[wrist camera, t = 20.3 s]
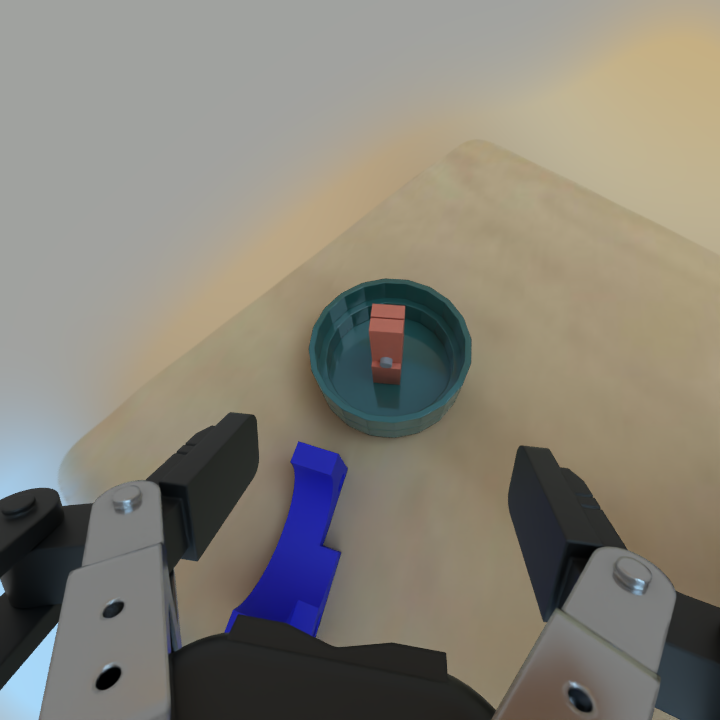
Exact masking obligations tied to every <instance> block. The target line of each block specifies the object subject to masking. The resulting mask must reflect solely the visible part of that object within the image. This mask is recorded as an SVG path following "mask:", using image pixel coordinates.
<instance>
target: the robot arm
mask: <svg viewBox="0 0 720 720" xmlns="http://www.w3.org/2000/svg"><path fill="white" fill-rule="evenodd" d="M258 463H259V449H258V433H257V420H256V417H255V416H254V415H251V414H242V413H233V412H230V413H229V414H227V415H226V416H225V417H224V418H223V419H222V420H221V421H220V422H219V423H218V424H217V425H216V426H210V427H208V428H206V429H204V430H202V431H200V432H198V433H196V434H195V435H194V436H193V437H192V438H191V439H190V440H189V441H188V442H186V445H183V446H182V447H181V448H180V449H179V450H178V451H177V453H176V454H175V453H174V454H173V455H172V456H171V457H170V458H169V459H168V460H167V461H166V462H165V463H164V464H163V465H161V466H160V467H159V468H158V469H157V470H156V471H155V472H154V473H153V474H152V475H151V476H149V477H148V478H147V479H146V480H138V481H131V482H127V483H123V484H120V485H118V486H115V487H113V488H111V489H109V490H108V491H106V492H104V493H103V494H102V495H101V496H99V497H98V498H97V499H96V501H95V502H94V503H90V504H79V505H69V506H62V504H61V501H60V497H59V494H58V492H57V491H55V490H53V489H50V488H35V489H29V490H25V491H22V492H18V493H15V494H13V495H10V496H8V497H5V498H4V499H1V500H0V580H1V582H2V585H3V587H4V590H5V593H4V594H3V595H2V596H0V690H1V689H2V688H3V686H4V685H5V684H6V683H7V682H8V680H9V679H10V678H11V677H12V675H14V674H15V672H16V671H17V670H18V669H19V668H20V666H21V665H22V664H23V663H24V662H25V661H26V659H27V658H28V657H29V656H30V655H31V654H32V652H33V651H34V650H35V649H36V648H37V646H38V645H39V644H40V643H41V642H42V641H43V639H44V638H45V637H46V636H47V635H48V634H49V632H50V631H51V630H52V629H53V628H54V627H55V625H56V624H57V623H58V622H59V623H58V628H57V632H56V637H55V643H54V647H53V652H52V657H51V662H50V667H49V672H48V677H47V681H46V687H45V691H44V696H43V701H42V706H41V711H40V716H39V720H652V716H653V712H654V708H657V709H659V710H661V711H663V712H666V713H668V714H670V715H672V716H674V717H676V718H678V719H680V720H720V608H718V607H716V606H713V605H710V604H708V603H705V602H702V601H700V600H697V599H694V598H692V597H689V596H686V595H684V594H682V593H679V592H677V591H675V589H674V586H673V584H672V583H671V581H670V580H669V579H668V577H667V576H666V575H665V574H664V573H663V572H662V571H661V570H660V569H659V568H658V567H656V566H655V565H654V564H653V563H651V562H650V561H648V560H647V559H645V558H643V557H641V556H640V555H638V554H635V553H633V552H631V551H628V550H627V548H626V547H625V545H624V543H623V542H622V540H621V539H620V537H619V536H618V534H617V532H616V531H615V529H614V528H613V526H612V525H611V523H610V521H609V520H608V518H607V517H606V515H605V514H604V512H603V510H600V506H599V504H598V503H597V501H596V499H595V498H593V495H592V493H591V492H590V490H589V489H588V487H587V485H586V484H585V482H584V481H583V480H582V479H580V478H579V477H578V476H577V475H576V474H574V473H573V472H572V471H571V470H570V469H568V468H560V467H559V465H558V463H557V462H556V460H555V458H554V456H553V455H552V453H551V451H550V450H549V449H547V448H539V447H530V446H519V448H518V450H517V454H516V458H515V463H514V468H513V473H512V477H511V482H510V487H509V493H508V505H509V512H510V515H511V518H512V522H513V525H514V528H515V531H516V535H517V538H518V541H519V544H520V548H521V551H522V554H523V557H524V561H525V564H526V567H527V570H528V574H529V577H530V580H531V583H532V587H533V590H534V593H535V596H536V600H537V603H538V606H539V609H540V613H541V616H542V619H543V622H547V624H546V625H545V627H544V629H543V631H542V632H541V634H540V636H539V638H538V639H537V641H536V643H535V644H534V646H533V648H532V650H531V651H530V653H529V655H528V657H527V658H526V660H525V662H524V663H523V665H522V667H521V669H520V670H519V672H518V674H517V676H516V677H515V679H514V681H513V683H512V684H511V686H510V688H509V689H508V691H507V693H506V695H505V696H504V698H503V700H502V702H501V703H500V705H499V707H498V709H497V710H495V709H494V708H493V707H492V706H491V705H490V704H489V703H488V702H487V701H486V700H485V699H484V698H483V697H482V696H481V695H479V694H478V693H477V692H476V691H474V690H473V689H472V688H471V687H469V686H468V685H466V684H465V683H463V682H462V681H460V680H459V679H457V678H455V677H453V676H451V675H449V674H447V660H446V653H445V652H440V651H434V650H429V649H423V648H418V647H413V646H407V645H402V644H397V643H383V644H371V645H360V646H349V647H334V646H331V645H329V644H327V643H325V642H323V641H321V640H319V639H317V638H315V637H313V636H311V635H309V634H307V633H305V632H303V631H301V630H299V629H297V628H295V627H293V626H291V625H289V624H287V623H284V622H278V621H273V620H268V619H262V618H257V617H252V616H246V615H241V614H238V615H237V617H236V620H235V622H234V624H233V626H232V628H231V630H230V632H228V633H221V634H217V635H212V636H209V637H206V638H203V639H200V640H197V641H195V642H193V643H190V644H188V645H186V646H184V647H182V643H181V634H180V623H179V612H178V601H177V590H176V580H175V572H174V567H175V566H176V564H177V563H178V562H179V560H180V559H186V560H192V561H198V560H199V559H200V557H201V556H202V554H203V553H204V551H205V550H206V548H207V547H208V545H209V544H210V542H211V541H212V539H213V538H214V536H215V535H216V533H217V532H218V530H219V529H220V527H221V526H222V524H223V523H224V521H225V520H226V518H227V517H228V515H229V514H230V512H231V511H232V509H233V508H234V506H235V505H236V503H237V502H238V500H239V499H240V497H241V496H242V494H243V493H244V491H245V490H246V488H247V487H248V485H249V484H250V482H251V481H252V479H253V478H254V476H255V474H256V472H257V468H258Z"/></svg>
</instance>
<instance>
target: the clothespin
mask: <svg viewBox="0 0 720 720" xmlns="http://www.w3.org/2000/svg"><path fill="white" fill-rule="evenodd" d="M404 322H405V306H400V305H385V304H372V310H371V318H370V325H369V337H370V346H371V355H372V366H371V367H372V375H373V382H374V383H384V384H395V385H400V379H401V364H402V358H403V344H404Z"/></svg>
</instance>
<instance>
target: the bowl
mask: <svg viewBox="0 0 720 720" xmlns="http://www.w3.org/2000/svg"><path fill="white" fill-rule="evenodd" d="M372 304H385V305H400V306H405V322H404V344H403V358H402V364H401V379H400V385H395V384H384V383H374V382H373V375H372V367H371V366H372V355H371V346H370V337H369V325H370V318H371V310H372ZM309 355H310V362H311V370H312V373H313V375H314V377H315V379H316V381H317V383H318V385H319V388H320V390H321V392H322V394H323V395H324V397H325V399H326V401H327V403H328V405H329V407H330V409H331V410H332V411H333V412H334V413H335V414H336V415H337V416H338V417H339V418H340V419H341V420H343V421H344V422H345V423H346V424H347V425H348V426H350V427H352V428H355V429H357V430H359V431H361V432H363V433H366V434H368V435H373V436H382V437H391V438H396V437H401V436H406V435H411V434H416V433H419V432H421V431H423V430H424V429H426V428H428V427H430V426H431V425H433V424H435V423H437V422H438V421H439V420H440V419H441V418H442V417H443V416H444V415H445V414H446V412H447V411H448V410H449V409H450V408H451V407H452V406H453V404H454V403H455V400H456V398H457V396H458V394H459V392H460V389H461V387H462V385H463V383H464V380H465V377H466V375H467V372H468V370H469V367H470V365H471V337H470V334H469V331H468V329H467V326H466V323H465V320H464V318H463V317H462V315H461V314H460V313H459V312H458V310H457V309H456V308H455V307H454V305H453V304H452V303H451V302H450V300H448V299H447V298H445V297H444V296H442V295H441V294H440V293H438V292H437V291H435V290H434V289H432V288H430V287H428V286H425V285H422V284H419V283H416V282H413V281H410V280H401V279H380V280H375V281H370V282H365V283H361V284H359V285H357V286H355V287H353V288H351V289H349V290H347V291H345V292H343V293H341V294H340V295H339V296H338V297H336V298H335V299H334V300H333V301H332V302H331V303H330V304H329V305H328V306H326V307H325V309H324V310H323V312H322V313H321V315H320V317H319V318H318V320H317V322H316V323H315V325H314V327H313V331H312V336H311V340H310V345H309Z"/></svg>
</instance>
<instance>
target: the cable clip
mask: <svg viewBox="0 0 720 720" xmlns="http://www.w3.org/2000/svg"><path fill="white" fill-rule="evenodd" d="M291 463H292V465H293V467H294V472H295V484H294V492H293V497H292V502H291V506H290V510H289V514H288V517H287V520H286V523H285V526H284V529H283V532H282V534H281V537H280V540H279V542H278V544H277V547H276V549H275V551H274V554H273V556H272V558H271V560H270V562H269V564H268V566H267V568H266V570H265V571H264V573H263V575H262V577H261V578H260V580H259V582H258V583H257V585H256V586H255V588H254V589H253V591H252V592H251V593H250V595H249V596H248V597H247V598H246V600H245V601H244V602H243V603H242V604H241V605H240V606H238V607H237V608H235V609H234V610H233V612H232V614H231V617H230V619H229V622H228V624H227V627H226V630H225V632H224V633H228V632H230V630H231V628H232V626H233V624H234V622H235V620H236V617H237V615H238V614H241V615H246V616H252V617H257V618H262V619H268V620H273V621H278V622H284V623H287V624H289V625H291V626H293V627H295V628H297V629H299V630H301V631H303V632H305V633H307V634H309V635H311V636H313V637H316V634H317V630H318V627H319V624H320V621H321V617H322V614H323V611H324V607H325V604H326V601H327V598H328V594H329V591H330V588H331V584H332V581H333V578H334V575H335V571H336V568H337V565H338V561H339V558H340V555H341V552H339V551H337V550H334V549H331V548H329V547H326V546H323V544H324V541H325V538H326V535H327V532H328V528H329V525H330V522H331V519H332V516H333V513H334V510H335V507H336V504H337V501H338V498H339V495H340V491H341V488H342V485H343V482H344V479H345V476H346V473H347V470H348V468H347V467H346V465H345V464H344V462H343V460H342V459H341V457H340V456H339V454H337V453H334V452H330V451H327V450H324V449H321V448H318V447H315V446H311V445H308V444H305V443H302V442H299V441H298V444H297V447H296V449H295V452H294V454H293V457H292V459H291Z"/></svg>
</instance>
